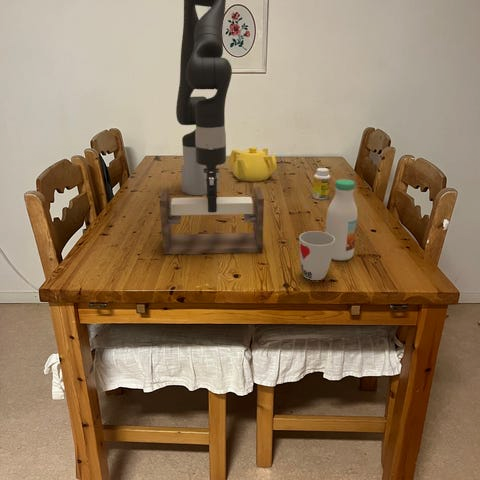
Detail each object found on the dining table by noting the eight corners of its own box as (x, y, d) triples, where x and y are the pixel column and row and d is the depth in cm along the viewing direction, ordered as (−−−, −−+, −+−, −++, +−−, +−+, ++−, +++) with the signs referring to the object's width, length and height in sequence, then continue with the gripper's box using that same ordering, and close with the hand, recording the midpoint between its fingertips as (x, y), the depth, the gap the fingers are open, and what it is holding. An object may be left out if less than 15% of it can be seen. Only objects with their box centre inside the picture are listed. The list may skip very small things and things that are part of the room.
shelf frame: (163, 255, 121) (159, 200, 115) (166, 239, 130) (163, 188, 124) (262, 252, 123) (263, 198, 116) (258, 237, 132) (259, 186, 126)
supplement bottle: (319, 201, 160) (322, 172, 156) (309, 196, 164) (311, 168, 160) (331, 198, 163) (334, 169, 158) (321, 194, 167) (323, 166, 163)
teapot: (278, 182, 180) (279, 151, 175) (236, 184, 177) (236, 153, 172) (266, 170, 195) (267, 141, 190) (227, 172, 192) (227, 143, 187)
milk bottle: (335, 263, 117) (343, 187, 109) (317, 251, 123) (323, 179, 115) (359, 257, 120) (368, 183, 112) (340, 246, 126) (347, 175, 118)
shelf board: (171, 215, 119) (170, 204, 118) (172, 208, 124) (172, 197, 123) (252, 213, 121) (252, 203, 119) (250, 207, 125) (251, 196, 124)
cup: (294, 268, 114) (296, 231, 110) (326, 267, 115) (329, 230, 111) (300, 285, 107) (303, 246, 103) (335, 283, 108) (339, 244, 104)
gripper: (196, 137, 121) (198, 199, 128) (194, 150, 108) (197, 218, 115) (224, 137, 122) (225, 198, 129) (226, 150, 109) (227, 217, 116)
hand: (212, 207), depth 122 cm, fingers closed on shelf board, 5 cm apart
